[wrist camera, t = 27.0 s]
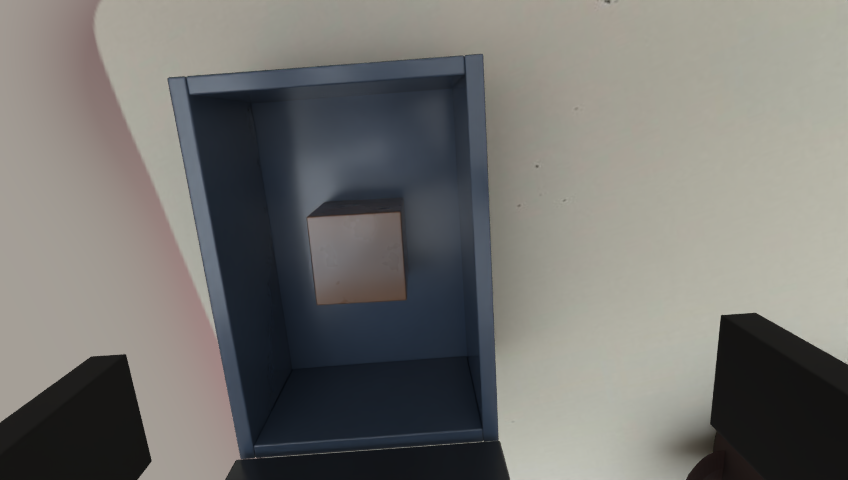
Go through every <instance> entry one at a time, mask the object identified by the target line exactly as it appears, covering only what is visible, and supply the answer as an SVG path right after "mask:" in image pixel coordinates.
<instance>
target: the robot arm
mask: <svg viewBox="0 0 848 480" xmlns="http://www.w3.org/2000/svg"><path fill="white" fill-rule="evenodd" d="M710 425H711V426H712V427H713V428H714V429H715V430H716V431H717V432H718V433H719V434H720V435H721V436H722V437H723V438H724V439H725V440H726V441H727V442H728V443H729V444H730V445H731V446H732V447H733V448H734V449H735V450H736V451H737V452H738V453H739V454H740V455H741V456H742V457H743V458H744V459H745V460H746V461H747V463H748V464H749V465H750V466H751V467H752V468H753V469H754V470H755V471H756V472H757V473H758V474H759V475H760V476H761V477H762V478H763V479H764V480H848V365H847V364H846V363H844V362H842V361H840V360H838V359H837V358H835V357H833V356H831V355H830V354H828V353H826V352H824V351H822V350H821V349H819V348H817V347H815V346H814V345H812V344H810V343H808V342H806V341H805V340H803V339H801V338H799V337H798V336H796V335H794V334H792V333H790V332H789V331H787V330H785V329H783V328H782V327H780V326H778V325H776V324H775V323H773V322H771V321H769V320H767V319H766V318H764V317H762V316H760V315H759V314H757V313H747V314H732V315H721V321H720V331H719V341H718V351H717V361H716V371H715V381H714V391H713V401H712V411H711V421H710ZM150 463H151V456H150V452H149V448H148V444H147V440H146V436H145V431H144V427H143V423H142V419H141V415H140V411H139V407H138V402H137V399H136V394H135V390H134V386H133V382H132V378H131V373H130V369H129V365H128V361H127V357H126V355H125V354H124V355H110V356H93V357H90V358H89V359H87V360H86V361H84V362H83V363H82V364H80V365H79V366H78V367H76V368H75V369H74V370H72V371H71V372H69V373H68V374H67V375H65V376H64V377H62V378H61V379H60V380H58V381H57V382H56V383H54V384H53V385H51V386H50V387H49V388H47V389H46V390H44V391H43V392H42V393H40V394H39V395H38V396H36V397H35V398H34V399H32V400H31V401H29V402H28V403H27V404H25V405H24V406H22V407H21V408H20V409H18V410H17V411H16V412H14V413H13V414H11V415H10V416H9V417H7V418H6V419H4V420H3V421H2V422H1V423H0V480H137V479H138V478H139V477H140V476H141V474H142V473H143V472H144V470H145V469H146V468H147V466H148V465H149V464H150Z"/></svg>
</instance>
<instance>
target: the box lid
mask: <svg viewBox="0 0 848 480" xmlns="http://www.w3.org/2000/svg"><path fill="white" fill-rule="evenodd" d="M225 480H510V477H509V473H508V470H507V466H506V462H505V458H504V454H503V451H502V447H501V443H500V441H491V442H477V443H463V444H450V445H436V446H422V447H408V448H395V449H381V450H367V451H353V452H339V453H326V454H312V455H298V456H284V457H271V458H257V459H243V460H236V461H235V463H234V465H233V466H232V468H231V470H230V472H229V474H228V476H227V478H226V479H225Z"/></svg>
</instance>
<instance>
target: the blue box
mask: <svg viewBox="0 0 848 480" xmlns="http://www.w3.org/2000/svg"><path fill="white" fill-rule="evenodd" d="M168 84H169V89H170V95H171V100H172V105H173V110H174V115H175V121H176V126H177V131H178V136H179V141H180V147H181V152H182V157H183V162H184V167H185V172H186V178H187V183H188V188H189V193H190V198H191V204H192V209H193V214H194V219H195V224H196V230H197V235H198V240H199V245H200V250H201V255H202V261H203V266H204V271H205V276H206V281H207V287H208V292H209V297H210V302H211V307H212V313H213V318H214V323H215V328H216V333H217V338H218V344H219V349H220V354H221V359H222V364H223V370H224V374H225V380H226V385H227V390H228V395H229V401H230V406H231V411H232V416H233V421H234V427H235V432H236V437H237V442H238V447H239V452H240V458H241V459H250V458H255V457H256V458H263V457H277V456H291V455H305V454H318V453H332V452H346V451H360V450H373V449H387V448H401V447H415V446H428V445H442V444H456V443H470V442H482V441H484V442H488V441H498V440H499V438H498V413H497V388H496V363H495V338H494V313H493V288H492V263H491V238H490V213H489V188H488V163H487V138H486V113H485V88H484V63H483V54H473V55H465V56H448V57H435V58H422V59H409V60H395V61H382V62H369V63H355V64H342V65H329V66H316V67H302V68H289V69H276V70H262V71H249V72H236V73H223V74H209V75H196V76H187V77H184V76H182V77H169V78H168ZM384 198H404V212H405V227H406V242H407V257H408V289H407V300H403V301H385V302H367V303H350V304H332V305H317V304H316V296H315V287H314V279H313V270H312V262H311V253H310V244H309V236H308V227H307V219H306V218H307V216H308V215H310V214H311V213H312V212H313V211H314V210H316V209H317V208H318V207H319V206H320V205H322V204H323V203H324V202H331V201H349V200H367V199H384Z"/></svg>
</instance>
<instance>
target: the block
mask: <svg viewBox="0 0 848 480" xmlns="http://www.w3.org/2000/svg"><path fill="white" fill-rule="evenodd" d="M306 219H307V227H308V236H309V244H310V253H311V262H312V270H313V279H314V287H315V296H316V304H317V305H332V304H350V303H367V302H385V301H403V300H407V289H408V257H407V242H406V227H405V212H404V198H384V199H367V200H349V201H331V202H324V203H323V204H322V205H320V206H319V207H318V208H317V209H316V210H314V211H313V212H312V213H311V214H310V215H308V216H307V218H306Z"/></svg>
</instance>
